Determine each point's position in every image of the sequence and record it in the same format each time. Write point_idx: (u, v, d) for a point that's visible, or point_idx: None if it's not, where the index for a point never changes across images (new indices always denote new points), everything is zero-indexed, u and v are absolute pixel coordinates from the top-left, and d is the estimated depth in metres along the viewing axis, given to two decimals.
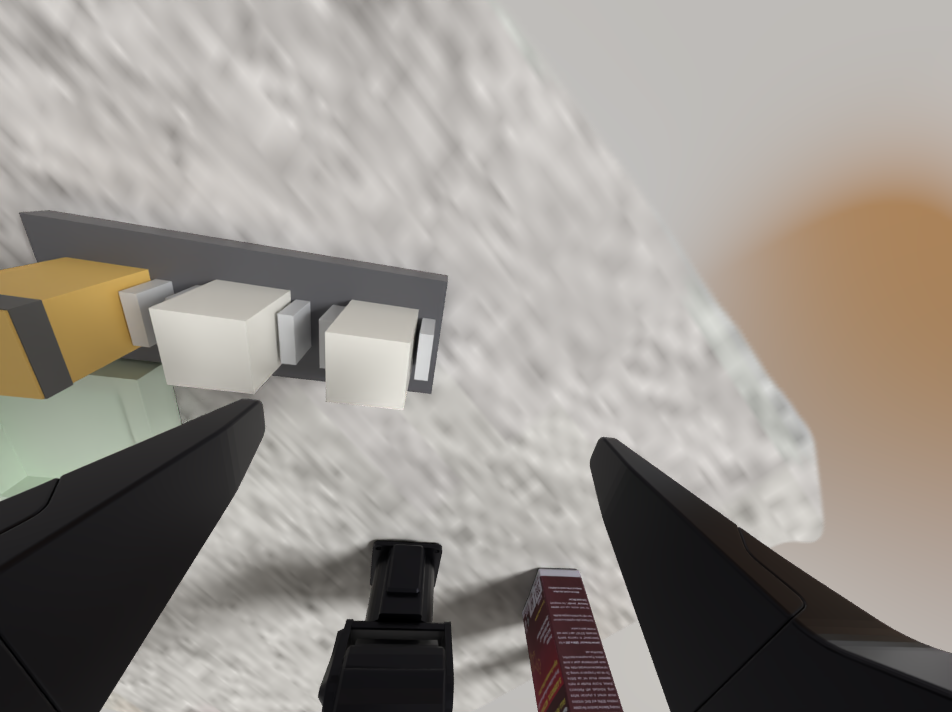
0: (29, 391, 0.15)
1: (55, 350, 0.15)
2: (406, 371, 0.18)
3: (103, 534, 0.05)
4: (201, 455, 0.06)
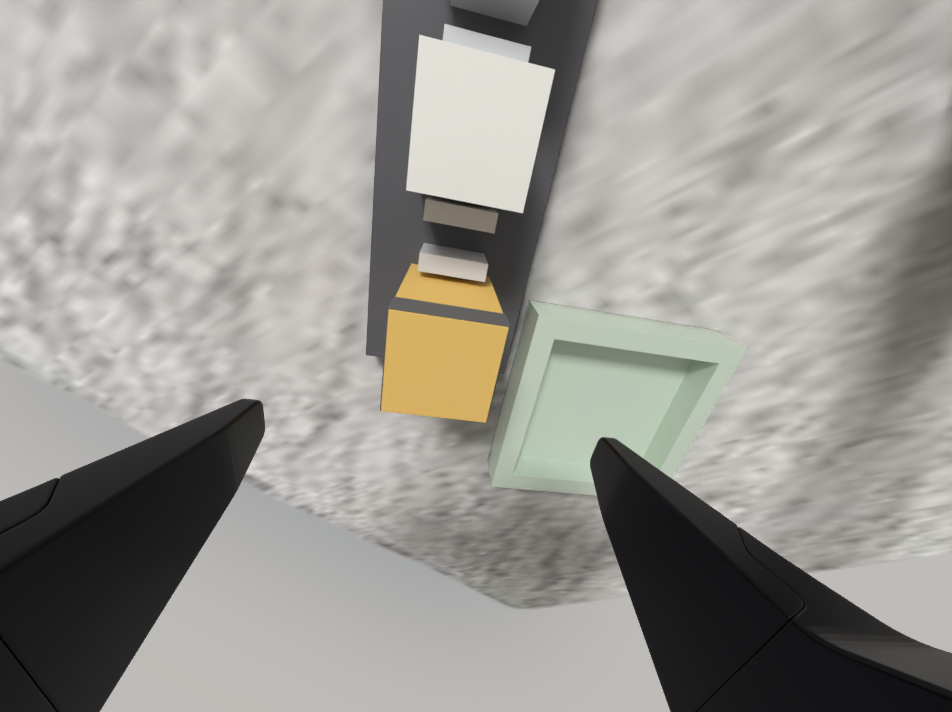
0: (496, 336, 0.12)
1: (455, 307, 0.12)
2: None
3: (103, 535, 0.05)
4: (201, 455, 0.06)
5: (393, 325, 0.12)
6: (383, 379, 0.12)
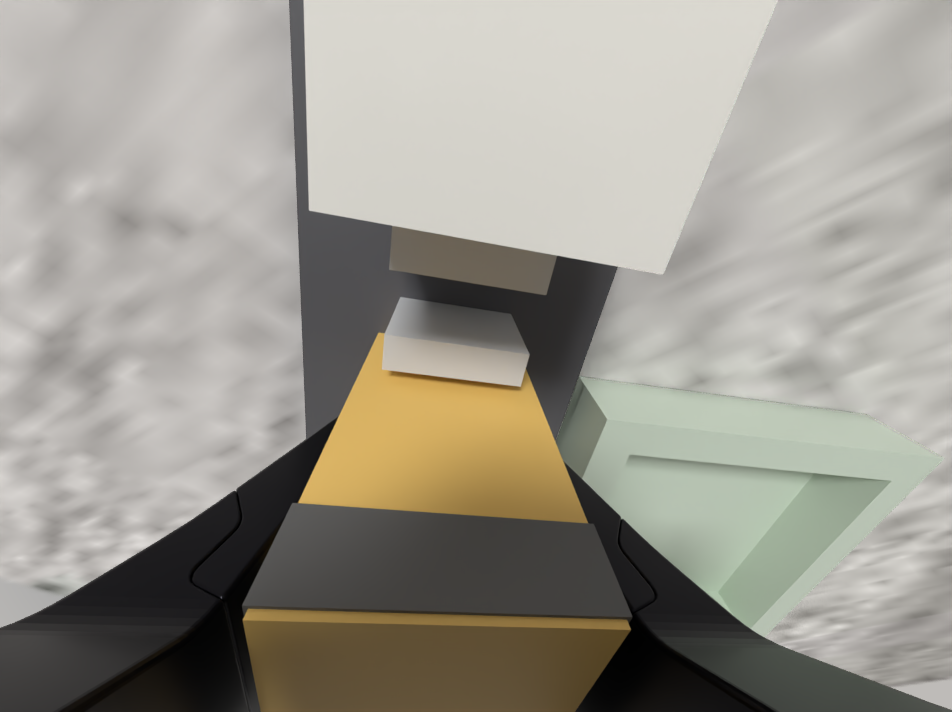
0: (590, 646, 0.04)
1: (465, 526, 0.05)
2: None
3: None
4: None
5: (273, 638, 0.04)
6: None
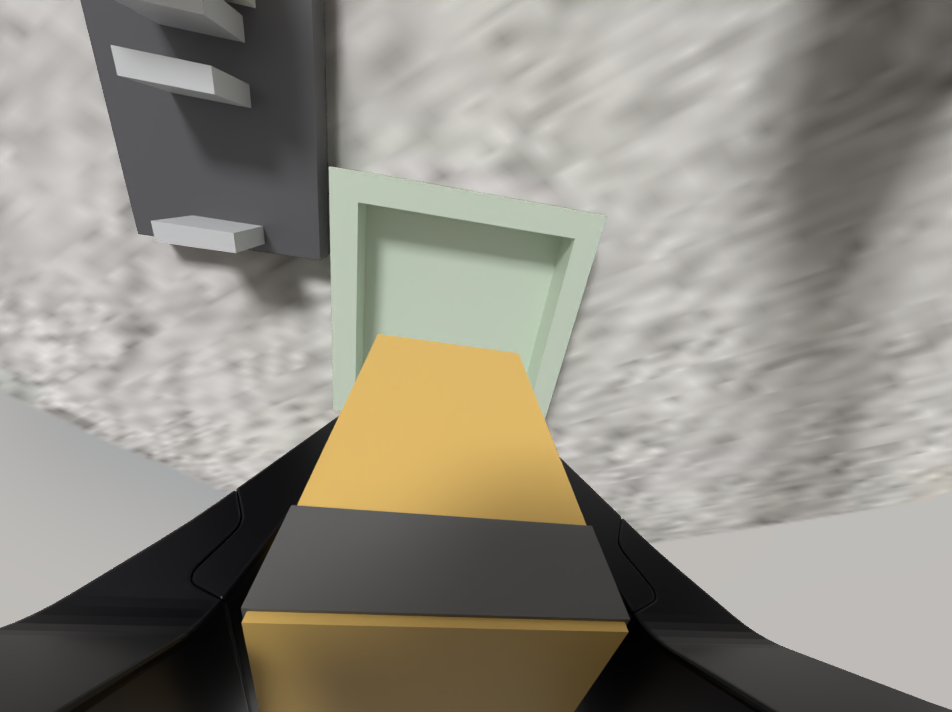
0: (588, 648, 0.04)
1: (463, 529, 0.05)
2: None
3: None
4: None
5: (272, 640, 0.04)
6: None
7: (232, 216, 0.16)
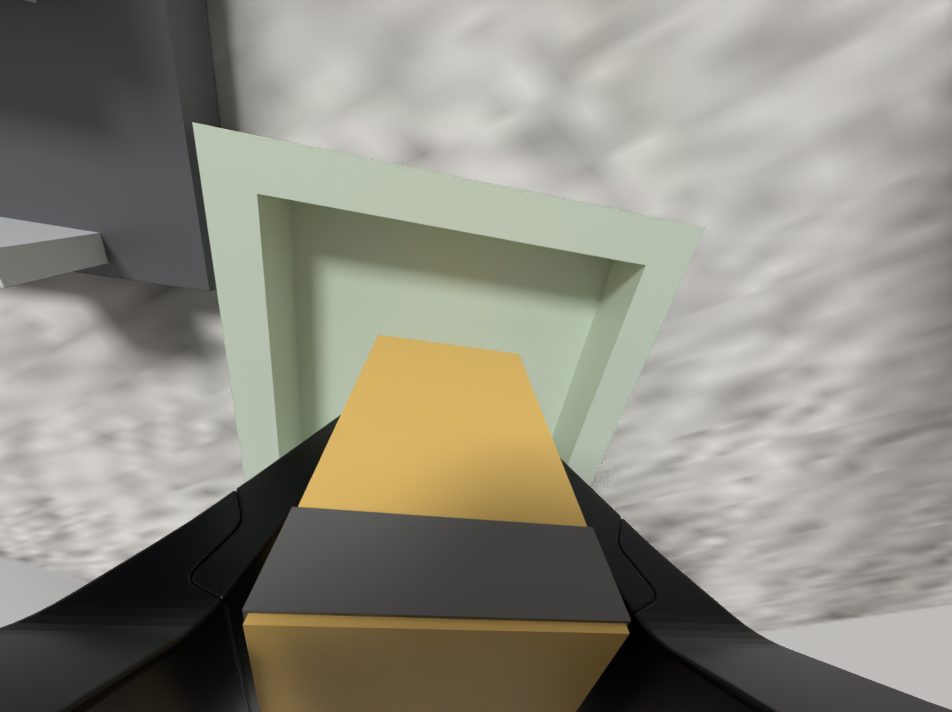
0: (589, 649, 0.04)
1: (465, 530, 0.05)
2: None
3: None
4: None
5: (273, 642, 0.04)
6: None
7: (39, 215, 0.09)
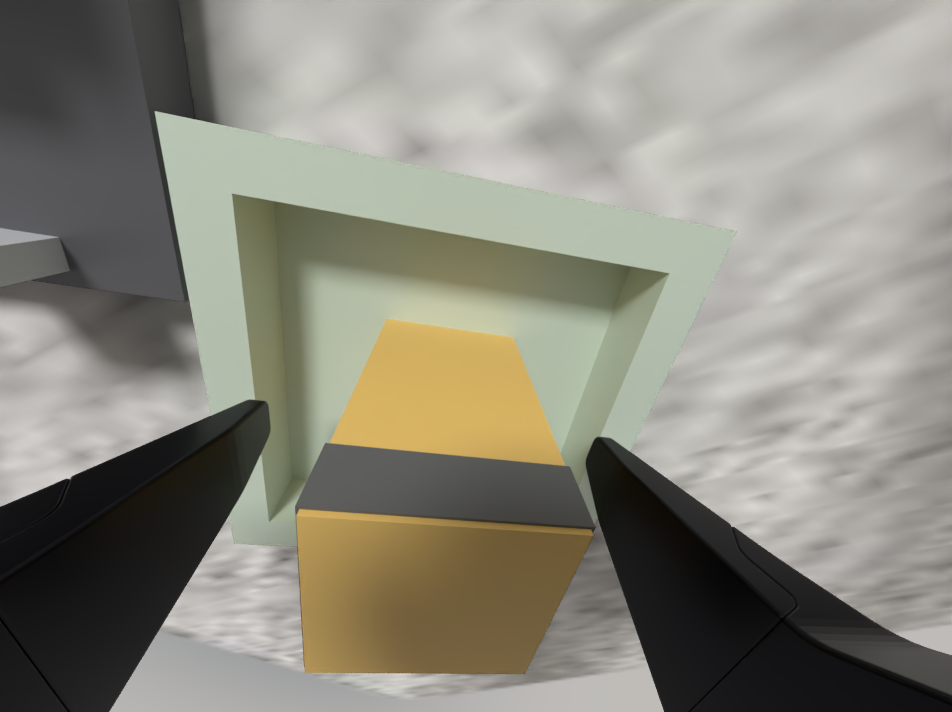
0: (562, 550, 0.05)
1: (464, 463, 0.06)
2: None
3: (114, 535, 0.05)
4: (209, 456, 0.06)
5: (315, 537, 0.05)
6: (303, 627, 0.06)
7: None
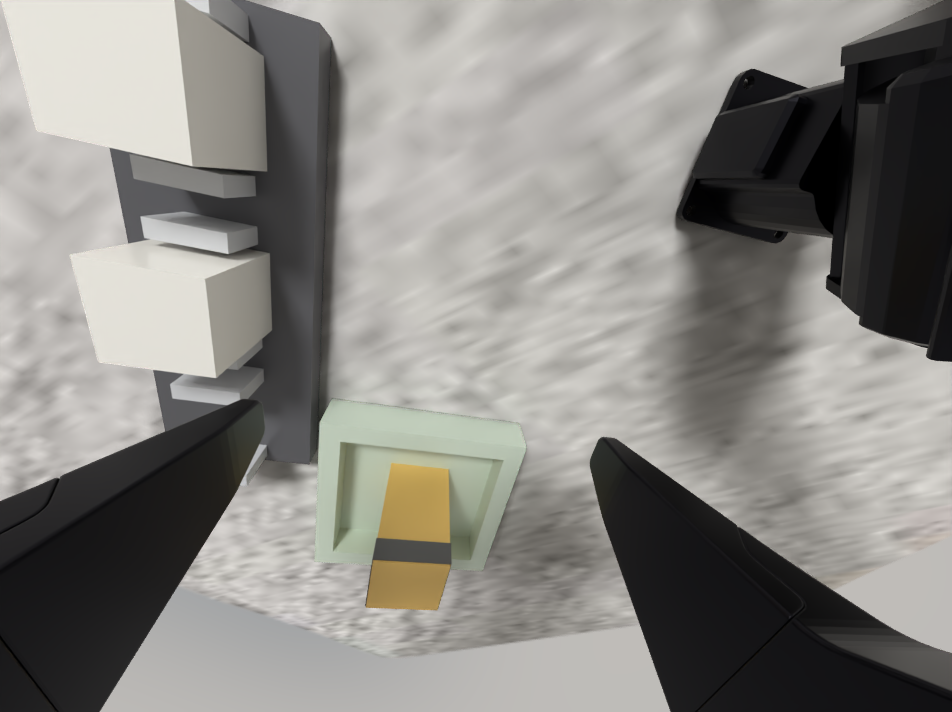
0: (442, 570, 0.18)
1: (417, 543, 0.19)
2: None
3: (103, 535, 0.05)
4: (200, 455, 0.06)
5: (376, 566, 0.18)
6: (368, 592, 0.19)
7: None
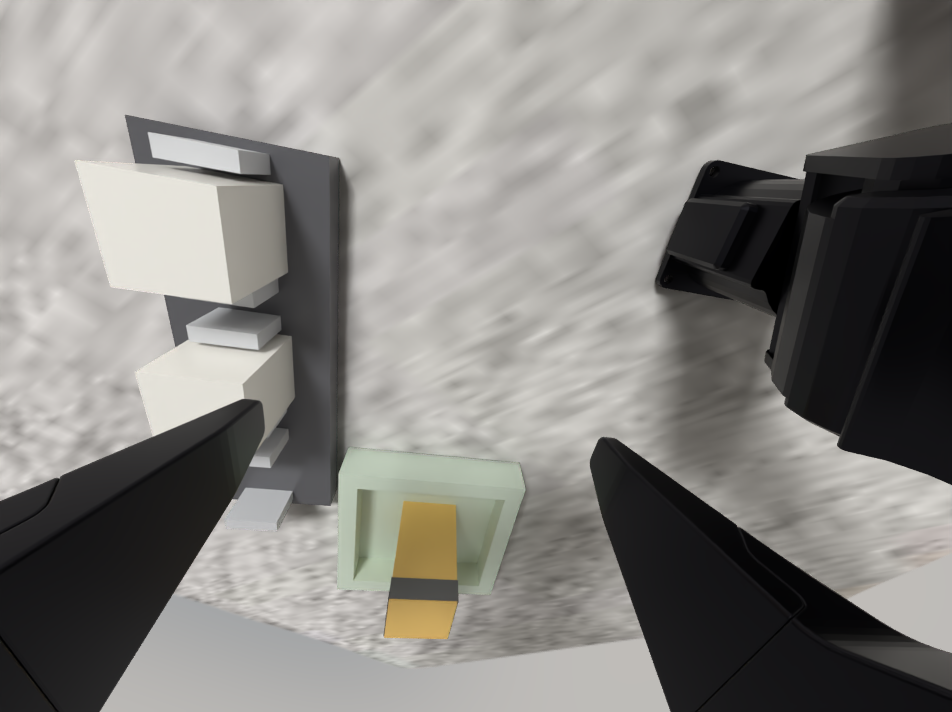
0: (450, 606, 0.21)
1: (428, 581, 0.21)
2: (133, 172, 0.11)
3: (103, 534, 0.05)
4: (201, 455, 0.06)
5: (391, 604, 0.20)
6: (385, 625, 0.21)
7: (272, 487, 0.24)
